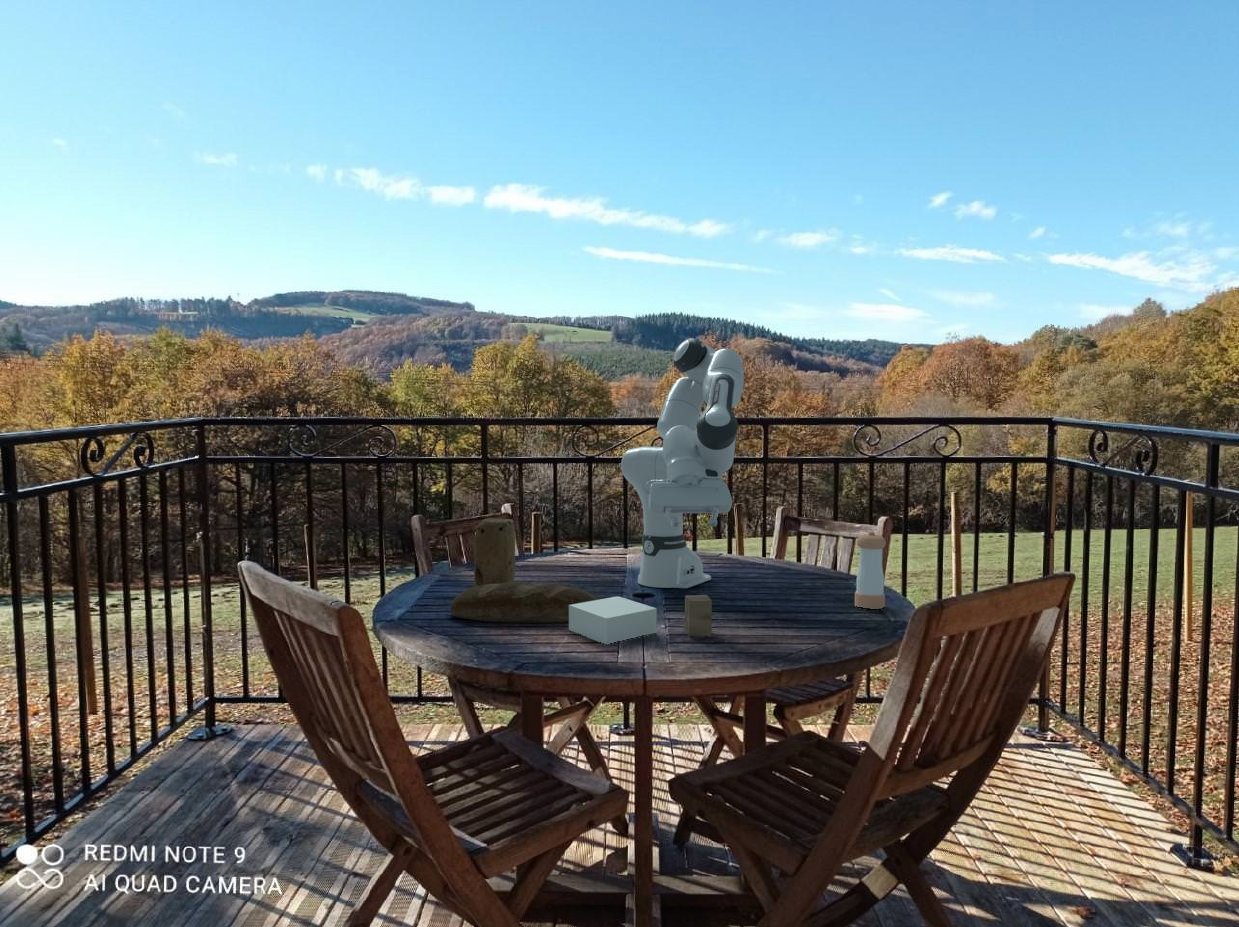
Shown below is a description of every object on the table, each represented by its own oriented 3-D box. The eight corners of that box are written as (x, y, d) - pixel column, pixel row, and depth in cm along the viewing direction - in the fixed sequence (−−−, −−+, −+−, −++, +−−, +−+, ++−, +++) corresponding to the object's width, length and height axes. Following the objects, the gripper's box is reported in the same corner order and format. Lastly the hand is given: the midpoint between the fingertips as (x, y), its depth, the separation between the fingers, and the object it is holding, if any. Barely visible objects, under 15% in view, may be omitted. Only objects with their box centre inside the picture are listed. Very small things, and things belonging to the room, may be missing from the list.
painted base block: (617, 621, 186) (618, 596, 185) (656, 634, 175) (656, 608, 174) (568, 631, 177) (568, 605, 177) (605, 646, 166) (606, 618, 166)
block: (517, 590, 216) (516, 517, 215) (510, 596, 209) (510, 521, 207) (478, 588, 217) (478, 517, 216) (470, 595, 210) (469, 520, 208)
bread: (459, 607, 198) (459, 574, 197) (603, 609, 196) (603, 576, 196) (442, 624, 182) (442, 589, 182) (599, 627, 181) (599, 591, 180)
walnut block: (684, 630, 177) (685, 595, 177) (706, 630, 178) (707, 595, 177) (688, 637, 172) (689, 601, 172) (711, 636, 173) (711, 600, 172)
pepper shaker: (886, 611, 195) (888, 534, 194) (855, 609, 196) (857, 533, 195) (882, 603, 202) (884, 529, 201) (853, 602, 203) (855, 528, 202)
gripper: (646, 471, 191) (652, 517, 182) (727, 471, 194) (738, 516, 185) (642, 488, 196) (649, 533, 187) (722, 488, 199) (732, 532, 190)
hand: (694, 525), depth 186 cm, fingers open, 8 cm apart
